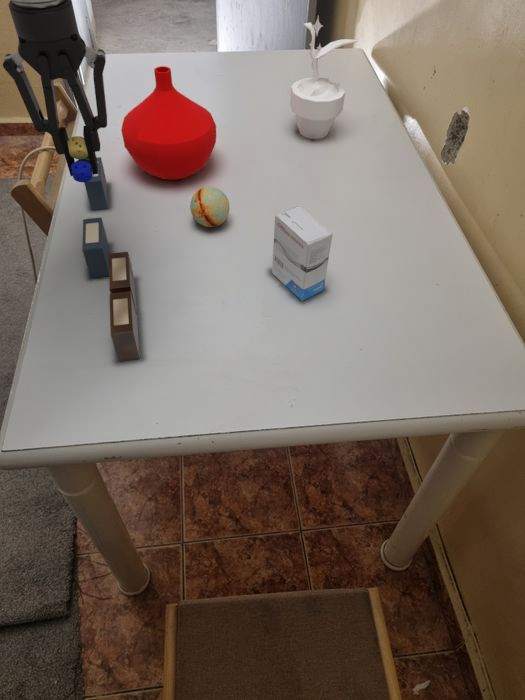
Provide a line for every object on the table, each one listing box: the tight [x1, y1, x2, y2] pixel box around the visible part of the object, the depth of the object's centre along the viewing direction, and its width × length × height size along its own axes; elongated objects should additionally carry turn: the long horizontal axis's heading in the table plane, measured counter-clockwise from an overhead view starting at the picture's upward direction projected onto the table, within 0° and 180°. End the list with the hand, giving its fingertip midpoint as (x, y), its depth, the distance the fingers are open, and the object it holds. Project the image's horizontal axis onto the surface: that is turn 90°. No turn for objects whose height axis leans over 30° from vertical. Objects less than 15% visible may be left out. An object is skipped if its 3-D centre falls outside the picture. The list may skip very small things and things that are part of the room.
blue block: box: [81, 156, 110, 279], centre depth 91 cm, size 3×27×6 cm, turn 11°
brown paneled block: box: [108, 251, 141, 363], centre depth 77 cm, size 3×17×6 cm, turn 11°
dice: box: [68, 135, 94, 183], centre depth 80 cm, size 8×3×6 cm, turn 11°
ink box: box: [271, 205, 333, 302], centre depth 82 cm, size 8×5×12 cm, turn 34°
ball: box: [189, 186, 231, 228], centre depth 93 cm, size 7×7×7 cm
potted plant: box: [289, 14, 359, 140], centre depth 108 cm, size 13×12×25 cm
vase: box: [121, 65, 217, 181], centre depth 100 cm, size 18×18×19 cm
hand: (84, 170), depth 81 cm, fingers closed on dice, 3 cm apart
